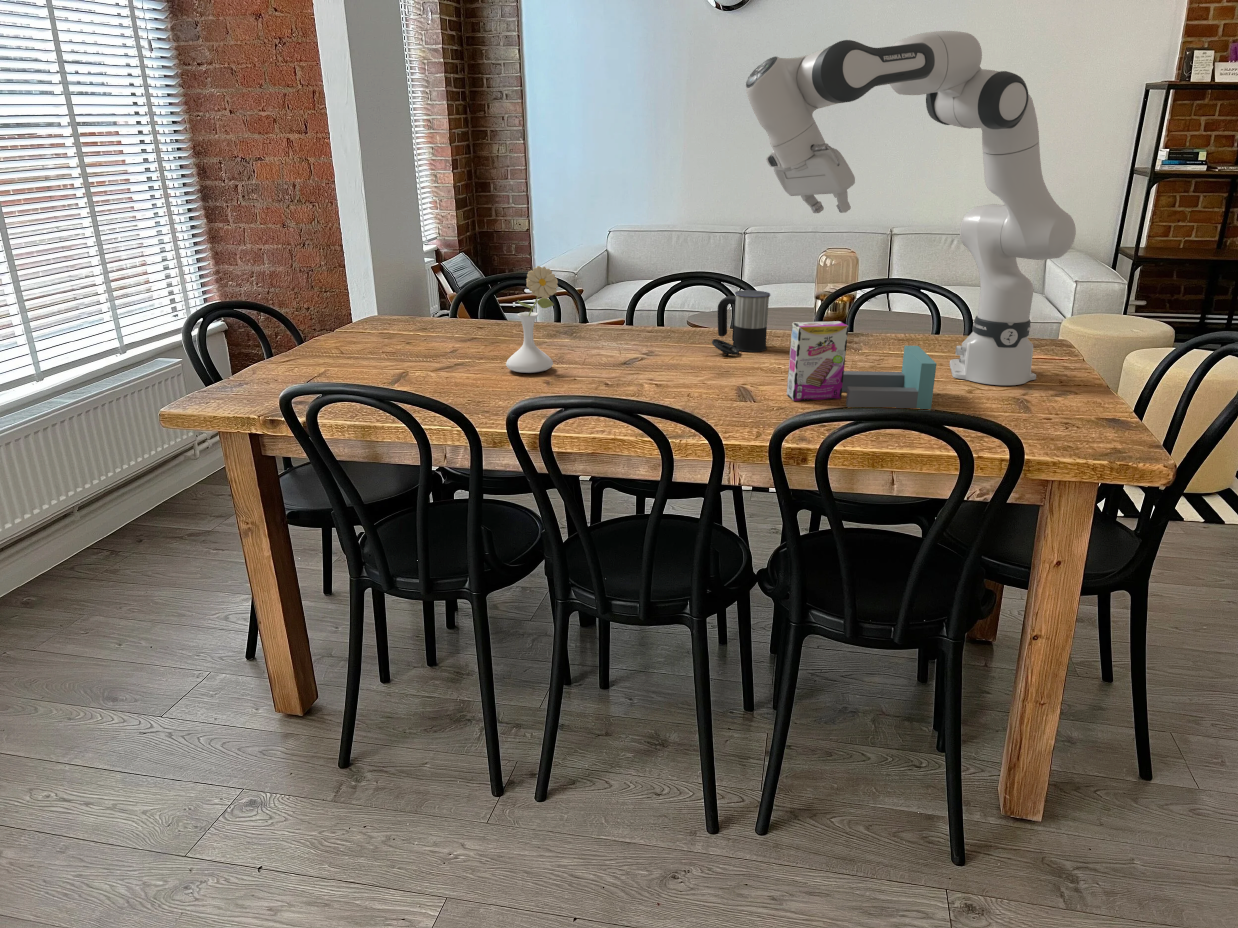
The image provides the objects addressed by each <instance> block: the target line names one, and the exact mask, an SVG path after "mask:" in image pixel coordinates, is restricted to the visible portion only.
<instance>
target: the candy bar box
mask: <svg viewBox="0 0 1238 928" xmlns="http://www.w3.org/2000/svg"><path fill="white" fill-rule="evenodd" d="M848 336H849V325H848V324H846V323H844V322H843V321H839V320H836V321H835V320H833V321H797V322H796V321H795V322H792V324H791V335H790V348H789V361H788V372H787V373H788V374H787V384H786V395H787V397H788V398H789V399H790V400H792V401H794V402H796V401H797V402H798V401H821V400H840V399H842V394H843V392H842V385H843V375H844V371H845V365H846V355H847V354H846V353H847V344H848Z"/></svg>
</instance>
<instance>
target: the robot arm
mask: <svg viewBox="0 0 1238 928" xmlns="http://www.w3.org/2000/svg"><path fill="white" fill-rule="evenodd" d="M982 56H983V51H982V46H981V44H980V41H979V40H978V38H976V37H975V35H974V34H971V33H969V32H966V31H958V30H956V31H955V30H936V31H929V32H922V33H921V32H920V33H917V34H913V35H910V36H907V37H904V38H902V39H900V40H897V41H895V42H894V44H893V45H892V46H882V47H873V46H868V45H866V44H863V43H861V42H858V41H857V40H851V39H844V40H840V41H836V42H835V43H833V44H832V45H830V46H828V47H826V48H823V49H820V50H817V51H815V52H812V53H808V54H806V55H801V56H797V57H788V58H787V57H784V58H783V57H779V56H773V57H769V58H768V59H766V60H764V61H763V62H762V63H760V65H758V66H756V67H755V68H754V69H753V70H752V72H751V73H750V75H749V76H748V77H747V80H746V82H745V91H746V94H747V95H746V96H747V98H748V101H749V104H750V106H751V108H752V111H753V112H754V114H755V117H756V119H757V120H758V123H759V125H760V126H761V127H762V128H763V130H764V131H765V133H766V134H767V136H768V139H769V144H770V146H771V147H772V149H773V150H772V151H771V152H770V153H769V154H768V155H767V156H766V158H765V160H766V162H767V165H768V166H769V167H770V168H773V172H774V174H775V176H776V178H777V180H778V182H779V184H780V185H781V187H782V189H783V190H784V191H785V193H786V194H788V196H790V197H796V196H797V197H799V196H800V197H801V199H802V201H804V203H805V204H806V205H807V206H808V207H809V208H810V210H811V211H812V213H813V214H820V213H821V212H823V211H824V205H823V203H822V201H819V200H818V198H817V197H816V196H817V195H818V196H819V195H832V196H833V198H834V199H836V201H837V204H836V205H835V206H836V208H837V210H838V212H839V214H840V213H841V214H846V213H848V212H849V211H850V210H851V205H850V202H849V198H848V196H849V193H848V190H849V189H850V188H852V187H853V186H854V185H855V183H856V176H855V175H854V173H853V170H852V169H851V167H850V166H849V164H848V163H847V161H846V159H845V157H844V156H843V155H842V153H841V152H840V150H838V149H837V148H834V147H832V146H831V145H829V143H827V142H826V140H825V138H824V137H823V134H822V132H821V130H820V129H819V127H818V125H817V123H816V121H815V118H814V116H813V114H814V112H815V111H816V110H819V109H823V108H826V107H827V108H828V107H830V106H833V105H834V106H835V105H839V104H844V103H851V102H855V101H857V100H858V99H860V98H862V97H863V96H865V94H867V93H869V91H871V90H872V89H874V88H875V87H880V86H887V85H889V86H890V87H891V88H892V90H893V91H894V92H895V93H896V94H898V95H904V96H920V95H921V96H924V95H925V105H926V106H925V107H926V111H927V114H928V116H929V117H930V118H931V119H932V120H934V121H935V122H936V123H939V124H942V125H945V126H953V127H957V128H962V129H968V130H969V129H981V143H982V144H981V145H982V147H981V148H982V150H981V151H982V161H983V162H982V163H983V176H984V177H983V178H984V183H985V186H986V188H987V189H988V190H989V191H990V193H992V194H993V195H994V196H996V197H997V198H998V199H1000V201H1001V202H1002V203H1003V204H997V203H996V204H995V203H992V204H991V203H990V204H984V205H979V206H974V207H972V208H969V210H968V211H967V212H966V213H965V214H964V215H963V217H962V219H961V222H960V226H959V236H960V240H961V243H962V245H963V246H964V248H966V249H967V251H968V252H969V253H970V254H971V256H972V257H973V260H974V262H975V265H976V267H977V270H978V275H979V282H980V283H979V284H980V288H979V301H978V309H977V315H976V316H975V318H974V320H973V324H972V327H971V329H972V332H971V333H970V334H969V335H968V336H967V337H966V338H965V340H964V341H962V343H961V345H956V347H955V356H959V358H954V359H950V361H949V367H950V371H951V375H952V378H955V379H959V380H966V381H971V382H974V383H979V384H985V385H995V386H1016V385H1023V384H1026V383H1027V382H1029V381H1033V380H1034V381H1035V380H1037V374H1036V373H1034V372H1032V364H1033V363H1032V362H1033V356H1034V355H1033V354H1034V344H1033V343H1032V342H1031V341H1030V339H1029V338H1028V337H1029V336H1030V331H1031V327H1032V326H1031V322H1032V321H1031V319H1030V315H1031V309H1032V303H1033V297H1034V285H1033V283H1032V281H1031V280H1030V279H1029V278H1028V277H1027V276H1026V275H1025V274H1023V273H1022V271H1021V270H1020V268H1019V266H1018V261H1017V259H1027V260H1035V261H1039V260H1040V261H1041V260H1042V261H1044V260H1053V259H1060V258H1062V257H1063V256H1064V255H1066V254H1067V253H1068V252H1069V250H1070V249H1071V247H1072V246H1073V244H1074V242H1075V239H1076V233H1077V229H1076V223H1075V221H1074V218H1073V217H1072V215H1070V214H1069V213H1068V212H1067V211H1065V210H1064V209H1063V208H1061V207H1060V206H1059V204H1058V203H1057V202H1056V201H1055V200H1054V198H1053V196H1052V195H1051V193H1050V191H1049V189H1048V187H1047V186H1046V183H1045V180H1044V176H1043V171H1042V162H1041V152H1040V150H1041V149H1040V135H1039V134H1040V133H1039V132H1040V131H1039V123H1038V118H1037V112H1036V109H1035V108H1036V107H1035V104H1034V102H1033V98H1032V97H1031V95H1030V94H1029V90H1028V86H1027V84H1026V81H1025V80H1024V78H1023V77H1021V76H1020V75H1018V74H1016V73H1014V72H1011V71H1006V70H1001V71H1000V70H993V69H987V68H986V69H985V68H981V64H982V60H983V57H982ZM815 195H816V196H815Z"/></svg>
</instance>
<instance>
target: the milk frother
mask: <svg viewBox="0 0 1238 928" xmlns="http://www.w3.org/2000/svg"><path fill="white" fill-rule="evenodd" d="M734 294H735V295H728V296H725V297H724V298H722V299H721V300H720V301H719V302H718V305H717V333H718V336H719V337H725V336H727V334H728V306H729V305H733V319H732V320H733V321H732V335H731V336H732V339H731V340H732V342H733V343H729V342H727V341H724V340H720V339H719V338H717V339H716V338H715V339H712V341H711V344H712V345H713V347H714V348H715V349H718V350H719V351H721V352H722V353H724V354H725V355H726V356H729V355H732V356H733V355H734V356H735V355H736V356H737V355H739V353H740V352H748V353H750V352H752V353H754V352H755V353H756V352H764V351H766V350H767V348H768V347H767V329H768V327H767V326H768V318H769V317H768V315H769V314H768V313H769V304H770V303H769V301H770V297H771V293H770V292H768V291H763V290H753V289H752V290H751V289H748V290H747V289H743V290H738V291H735V292H734Z"/></svg>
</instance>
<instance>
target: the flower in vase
mask: <svg viewBox="0 0 1238 928" xmlns="http://www.w3.org/2000/svg"><path fill="white" fill-rule="evenodd" d="M525 280H526V288H528V290H529V292H531V295H533V296H535V297H536V299H535V302H534V303H533V305H532V306H531V304H528V303H525V302H522V301H521V300H519V299H517V303H518V304H519V305H520V306H522V307H525V308H527V309H528V308H529V309H530V310H529V311H524V312H519V313H517V317H518V318H519V319H520V322H521V325H522V329H523V343H522V345H521V346H520V348H518V350H516V351H515V352H514V353H513V354H512V355H511V356H510V357H508V359H507V360H506V363H505V366H506V367H507V369H508V370H510V371H512V372H516V373H523V374H524V373H526V374H532V373H534V374H535V373H541V372H544V371H547V370H549V369H551V368H552V366H553V365H554V362H553V359H552V358H551V356H549V355H548V354H546V353H545V352H544V351H543V350H541V349H540V348H539V347H538V346H537V345H536V344H535V340H534V326H535V321H536V319H537V318H538V316H539V313H538V312H533V310H534V308H535V306H536V304H537V305H538V306H539V307H540V308H542V309H548V308H550V307H552V306H555V304H554V303H553V302H552V301H551V300H550V299H549V298H550V296H553V295H555V294H557V291H558V290H557V288H559V285H558V283H559V281H558V278H557V277H556V275H555V274H554V273H553V271H552V270H551V269H550V268H547V267H546V266H540V265H537V266H536V267H533V268H532V270H530V271H528V272H527V274H526V279H525ZM539 298H540V299H539Z"/></svg>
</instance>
